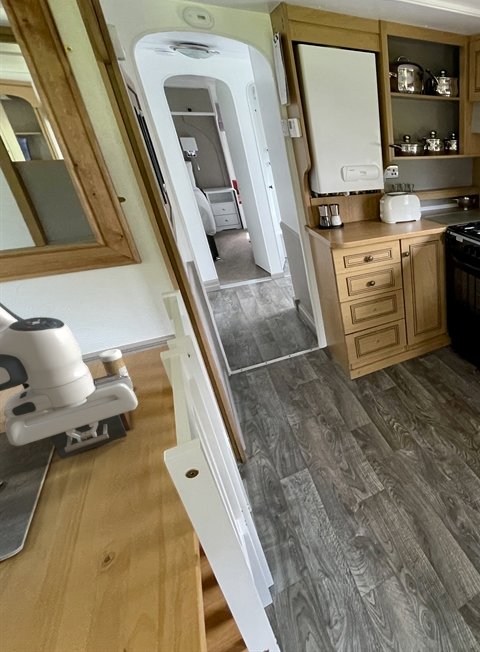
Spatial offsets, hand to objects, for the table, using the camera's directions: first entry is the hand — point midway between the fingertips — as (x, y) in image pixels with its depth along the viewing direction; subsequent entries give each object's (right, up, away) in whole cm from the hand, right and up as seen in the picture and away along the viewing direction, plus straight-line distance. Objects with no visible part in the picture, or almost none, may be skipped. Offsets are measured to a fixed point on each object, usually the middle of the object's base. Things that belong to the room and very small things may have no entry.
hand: (88, 439), depth 86 cm
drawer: (-5, -2, +7) cm, 9 cm away
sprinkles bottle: (-15, +5, +26) cm, 30 cm away
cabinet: (-10, -1, +12) cm, 16 cm away
